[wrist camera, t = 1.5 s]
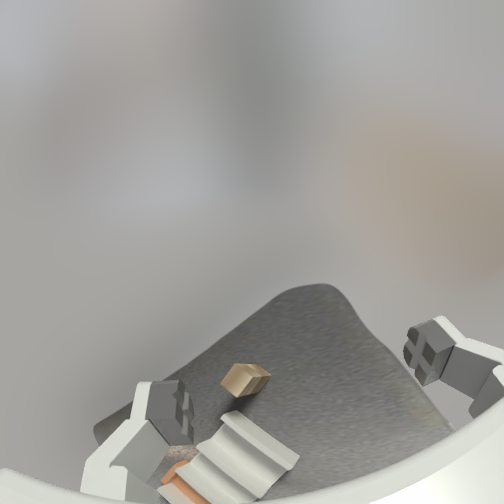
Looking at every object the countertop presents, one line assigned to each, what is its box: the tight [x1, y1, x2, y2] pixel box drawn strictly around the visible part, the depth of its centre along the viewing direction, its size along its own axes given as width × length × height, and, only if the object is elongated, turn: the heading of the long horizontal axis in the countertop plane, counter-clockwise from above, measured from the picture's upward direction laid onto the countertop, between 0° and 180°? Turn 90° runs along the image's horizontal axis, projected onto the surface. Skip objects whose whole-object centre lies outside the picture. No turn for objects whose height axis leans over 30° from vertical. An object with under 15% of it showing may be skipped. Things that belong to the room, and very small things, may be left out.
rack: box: [157, 410, 300, 504], centre depth 34 cm, size 14×22×5 cm, turn 144°
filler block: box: [220, 364, 271, 397], centre depth 38 cm, size 3×4×9 cm
